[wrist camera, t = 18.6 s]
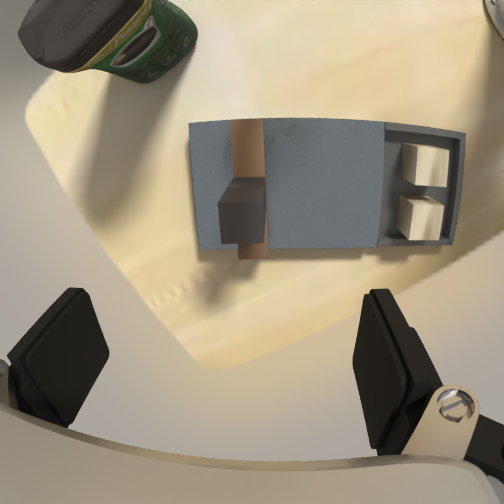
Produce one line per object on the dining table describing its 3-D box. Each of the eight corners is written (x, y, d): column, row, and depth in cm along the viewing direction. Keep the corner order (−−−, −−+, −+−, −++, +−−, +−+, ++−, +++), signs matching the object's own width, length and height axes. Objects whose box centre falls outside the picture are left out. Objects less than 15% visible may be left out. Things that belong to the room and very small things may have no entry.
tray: (457, 131, 30) (465, 133, 28) (445, 239, 35) (452, 245, 33) (379, 121, 30) (385, 122, 28) (373, 239, 36) (377, 245, 34)
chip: (402, 142, 30) (432, 146, 30) (400, 177, 32) (430, 179, 32) (417, 146, 27) (449, 150, 26) (415, 184, 28) (446, 187, 28)
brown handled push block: (263, 118, 29) (258, 118, 18) (268, 249, 35) (266, 308, 24) (233, 120, 29) (211, 121, 19) (241, 249, 35) (227, 308, 24)
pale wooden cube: (399, 194, 33) (428, 196, 33) (396, 227, 35) (424, 227, 34) (413, 204, 29) (444, 205, 29) (408, 240, 31) (438, 240, 31)
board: (376, 121, 30) (384, 121, 28) (370, 239, 36) (376, 247, 34) (194, 122, 32) (188, 123, 29) (204, 241, 37) (200, 249, 35)
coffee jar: (168, -2, 25) (89, -74, 8) (210, 38, 28) (149, -30, 11) (108, 53, 28) (-3, 30, 11) (145, 95, 31) (37, 89, 14)
